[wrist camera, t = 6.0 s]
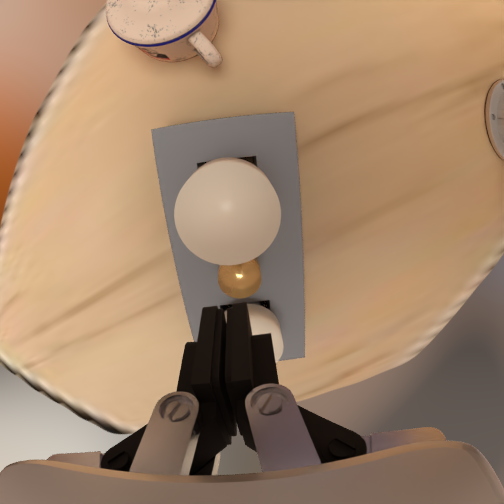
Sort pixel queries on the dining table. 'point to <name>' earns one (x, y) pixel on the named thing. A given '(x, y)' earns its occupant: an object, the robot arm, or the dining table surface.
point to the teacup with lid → (167, 27)
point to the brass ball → (240, 279)
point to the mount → (290, 230)
